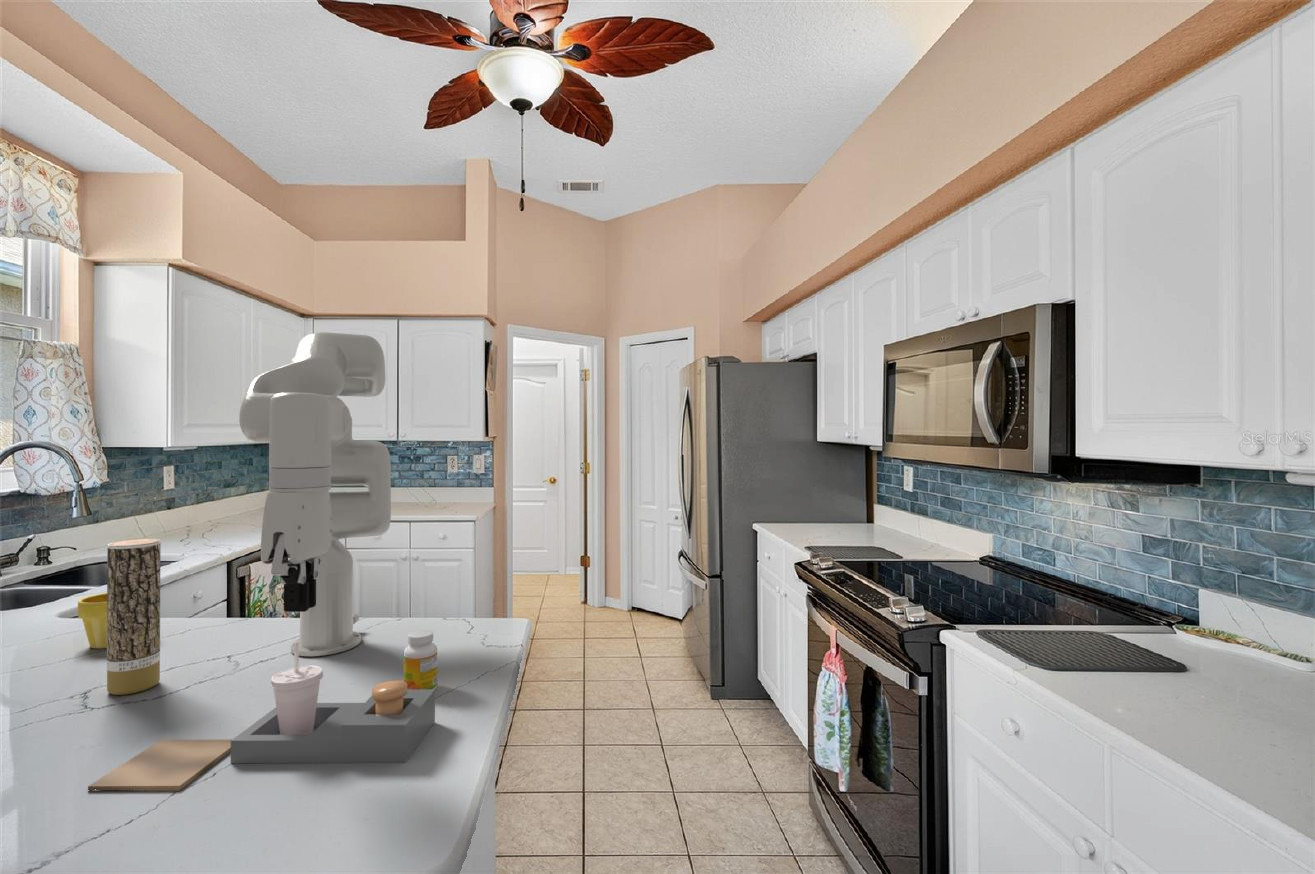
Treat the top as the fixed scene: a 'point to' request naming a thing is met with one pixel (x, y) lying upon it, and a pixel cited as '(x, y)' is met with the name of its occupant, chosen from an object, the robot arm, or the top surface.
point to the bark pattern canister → (133, 615)
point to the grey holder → (342, 734)
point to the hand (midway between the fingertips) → (300, 608)
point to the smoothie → (296, 696)
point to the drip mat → (165, 766)
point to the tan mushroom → (389, 697)
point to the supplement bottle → (420, 661)
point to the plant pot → (94, 619)
